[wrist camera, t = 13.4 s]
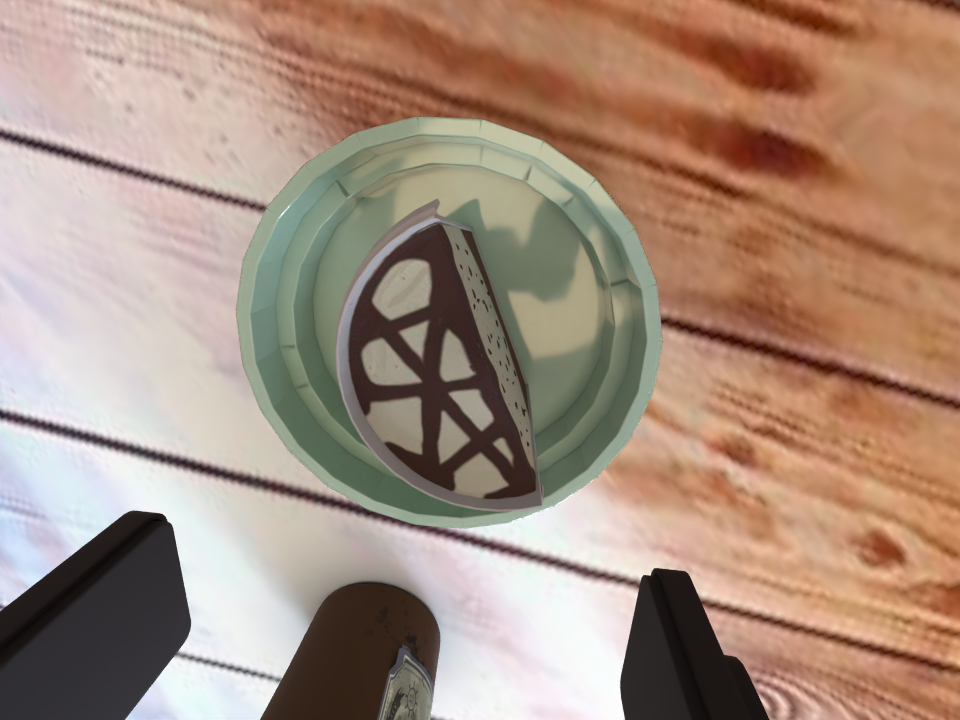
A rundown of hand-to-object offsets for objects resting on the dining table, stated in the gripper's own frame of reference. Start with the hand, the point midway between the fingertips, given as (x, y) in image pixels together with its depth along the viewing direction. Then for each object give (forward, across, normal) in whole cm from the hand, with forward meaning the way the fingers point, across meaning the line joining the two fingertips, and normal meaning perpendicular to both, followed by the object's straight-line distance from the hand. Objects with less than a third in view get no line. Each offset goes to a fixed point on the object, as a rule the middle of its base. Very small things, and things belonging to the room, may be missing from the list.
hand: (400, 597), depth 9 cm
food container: (+18, +2, -1) cm, 18 cm away
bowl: (+19, +2, -1) cm, 19 cm away
